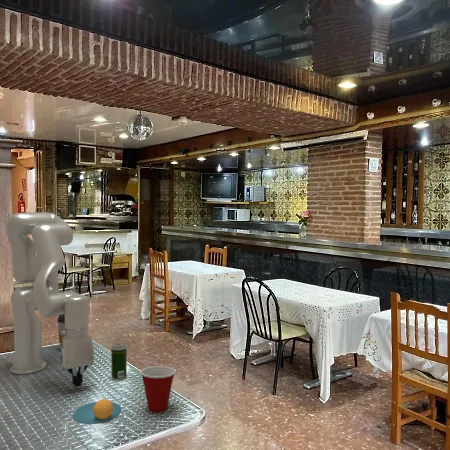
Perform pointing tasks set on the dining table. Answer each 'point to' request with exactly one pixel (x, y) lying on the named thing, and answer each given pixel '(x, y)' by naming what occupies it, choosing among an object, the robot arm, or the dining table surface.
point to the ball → (103, 409)
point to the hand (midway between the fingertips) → (77, 385)
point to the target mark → (88, 417)
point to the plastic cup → (157, 386)
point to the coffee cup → (61, 327)
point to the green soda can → (119, 361)
